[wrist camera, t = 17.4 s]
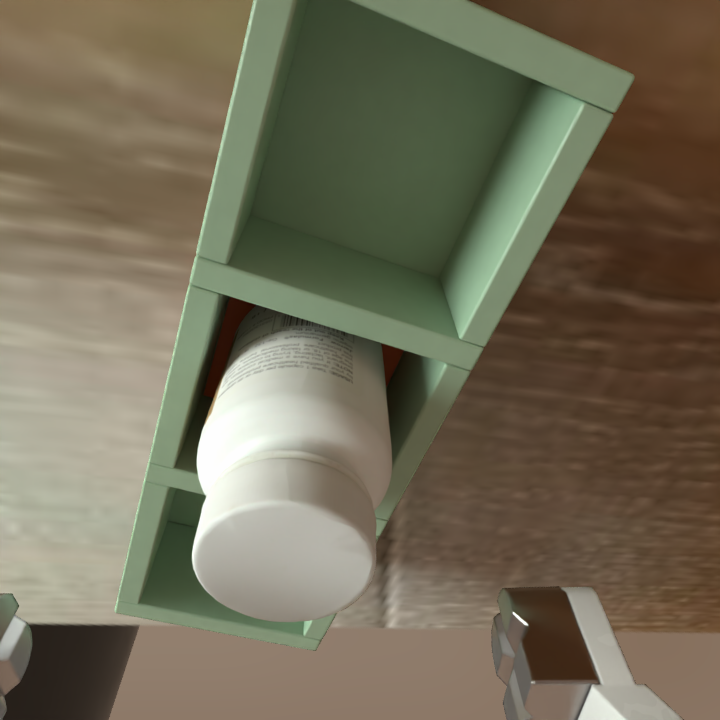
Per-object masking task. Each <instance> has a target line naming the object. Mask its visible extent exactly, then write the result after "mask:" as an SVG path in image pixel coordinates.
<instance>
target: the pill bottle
mask: <svg viewBox="0 0 720 720" xmlns="http://www.w3.org/2000/svg"><path fill="white" fill-rule="evenodd" d="M197 471H198V477H199V481H200V484H201V487H202V489H203V492H204V494H205V495H206V499H205V502H204V504H203V507H202V511H201V516H200V520H199V524H198V528H197V532H196V536H195V539H194V544H193V550H192V564H193V569H194V571H195V574H196V576H197V579H198V580H199V582H200V583H201V585H202V586H203V588H204V589H205V590H206V591H207V592H208V593H209V594H210V595H211V596H212V597H214V598H215V600H217V601H218V602H220V603H221V604H223V605H225V606H226V607H228V608H230V609H232V610H235V611H237V612H239V613H242V614H244V615H247V616H250V617H253V618H256V619H261V620H267V621H272V622H299V621H311V620H316V619H321V618H324V617H327V616H330V615H333V614H335V613H337V612H339V611H342V610H344V609H346V608H347V607H349V606H350V605H351V604H353V603H354V602H355V601H357V600H358V599H359V598H360V597H361V596H362V595H363V594H364V592H365V591H366V590H367V588H368V587H369V585H370V584H371V582H372V579H373V577H374V573H375V568H376V516H375V512H374V511H375V510H376V508H377V507H378V506H379V504H380V503H381V501H382V500H383V498H384V496H385V494H386V492H387V489H388V487H389V483H390V480H391V474H392V449H391V437H390V427H389V416H388V406H387V395H386V382H385V372H384V362H383V353H382V346H381V343H379V342H376V341H373V340H369V339H366V338H363V337H360V336H356V335H353V334H350V333H347V332H343V331H340V330H337V329H334V328H330V327H327V326H324V325H321V324H317V323H314V322H311V321H308V320H304V319H301V318H298V317H295V316H291V315H288V314H285V313H282V312H278V311H275V310H272V309H269V308H265V307H262V306H259V305H256V306H255V307H254V308H253V309H252V310H251V311H249V313H248V314H247V315H246V316H245V318H244V319H243V320H242V322H241V323H240V325H239V327H238V329H237V330H236V333H235V335H234V339H233V342H232V345H231V348H230V350H229V353H228V357H227V360H226V363H225V366H224V369H223V372H222V375H221V377H220V381H219V384H218V387H217V389H216V392H215V396H214V399H213V402H212V404H211V407H210V409H209V412H208V415H207V418H206V420H205V424H204V427H203V430H202V433H201V438H200V441H199V446H198V452H197Z"/></svg>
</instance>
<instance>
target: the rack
mask: <svg viewBox="0 0 720 720" xmlns="http://www.w3.org/2000/svg"><path fill="white" fill-rule="evenodd" d="M634 78H635V76H634V75H633V74H632V73H630V72H628V71H625V70H623V69H621V68H619V67H616V66H614V65H612V64H610V63H608V62H605V61H603V60H601V59H599V58H596V57H594V56H592V55H590V54H587V53H585V52H583V51H581V50H578V49H576V48H574V47H572V46H570V45H567V44H565V43H563V42H561V41H558V40H556V39H554V38H552V37H549V36H547V35H545V34H543V33H541V32H538V31H536V30H534V29H532V28H529V27H527V26H525V25H523V24H520V23H518V22H516V21H514V20H512V19H509V18H507V17H505V16H503V15H500V14H498V13H496V12H494V11H491V10H489V9H487V8H485V7H483V6H480V5H478V4H476V3H474V2H471V1H469V0H253V5H252V9H251V14H250V18H249V22H248V27H247V31H246V35H245V40H244V44H243V49H242V53H241V57H240V62H239V66H238V71H237V75H236V79H235V84H234V88H233V93H232V97H231V101H230V106H229V110H228V114H227V119H226V123H225V128H224V132H223V136H222V141H221V145H220V150H219V154H218V158H217V163H216V167H215V172H214V176H213V180H212V185H211V189H210V193H209V198H208V202H207V207H206V211H205V215H204V220H203V224H202V229H201V233H200V237H199V242H198V246H197V251H196V252H197V255H196V257H195V259H194V264H193V268H192V272H191V277H190V284H189V286H188V290H187V294H186V298H185V303H184V307H183V312H182V316H181V320H180V325H179V329H178V334H177V338H176V342H175V347H174V351H173V356H172V360H171V364H170V369H169V373H168V377H167V382H166V386H165V391H164V395H163V399H162V404H161V408H160V413H159V417H158V421H157V426H156V430H155V435H154V439H153V443H152V448H151V452H150V457H149V462H148V465H147V470H146V474H145V480H144V483H143V487H142V492H141V496H140V500H139V505H138V509H137V514H136V518H135V522H134V527H133V531H132V535H131V540H130V544H129V549H128V553H127V557H126V562H125V566H124V571H123V575H122V579H121V584H120V588H119V593H118V597H117V602H116V606H115V613H119V614H124V615H129V616H134V617H140V618H145V619H150V620H155V621H161V622H166V623H171V624H176V625H181V626H187V627H192V628H197V629H203V630H208V631H213V632H219V633H224V634H229V635H234V636H239V637H244V638H250V639H255V640H260V641H266V642H271V643H276V644H281V645H286V646H292V647H297V648H302V649H307V650H313V651H316V650H317V648H318V646H319V644H320V642H321V640H322V639H323V637H324V636H325V634H326V632H327V630H328V628H329V627H330V625H331V623H332V621H333V619H334V618H335V616H336V614H337V613H335V614H333V615H330V616H327V617H324V618H321V619H316V620H311V621H299V622H272V621H267V620H261V619H256V618H253V617H250V616H247V615H244V614H242V613H239V612H237V611H235V610H232V609H230V608H228V607H226V606H225V605H223V604H221V603H220V602H218V601H217V600H215V598H214V597H212V596H211V595H210V594H209V593H208V592H207V591H206V590H205V589H204V588H203V586H202V585H201V583H200V582H199V580H198V579H197V576H196V574H195V571H194V569H193V564H192V550H193V544H194V539H195V536H196V532H197V528H198V524H199V520H200V516H201V511H202V507H203V504H204V502H205V499H206V495H205V494H204V492H203V489H202V487H201V484H200V481H199V477H198V471H197V452H198V446H199V441H200V438H201V433H202V430H203V427H204V424H205V420H206V418H207V415H208V412H209V409H210V407H211V404H212V402H213V399H214V396H215V392H216V389H217V387H218V384H219V381H220V377H221V375H222V372H223V369H224V366H225V363H226V360H227V357H228V353H229V350H230V348H231V345H232V342H233V339H234V335H235V333H236V330H237V329H238V327H239V325H240V323H241V322H242V320H243V319H244V318H245V316H246V315H247V314H248V313H249V311H251V310H252V309H253V308H254V307H255V306H256V305H259V306H262V307H265V308H269V309H272V310H275V311H278V312H282V313H285V314H288V315H291V316H295V317H298V318H301V319H304V320H308V321H311V322H314V323H317V324H321V325H324V326H327V327H330V328H334V329H337V330H340V331H343V332H347V333H350V334H353V335H356V336H360V337H363V338H366V339H369V340H373V341H376V342H379V343H381V346H382V353H383V362H384V372H385V382H386V395H387V406H388V416H389V427H390V437H391V449H392V474H391V480H390V483H389V487H388V489H387V492H386V494H385V496H384V498H383V500H382V501H381V503H380V504H379V506H378V507H377V508H376V510H375V511H374V512H375V516H376V542H377V540H378V539H379V536H380V535H381V533H382V532H383V530H384V528H385V526H386V525H387V523H388V520H389V519H390V517H391V515H392V513H393V511H394V510H395V508H396V506H397V504H398V502H399V501H400V499H401V497H402V495H403V494H404V492H405V490H406V488H407V486H408V485H409V483H410V481H411V479H412V477H413V476H414V474H415V472H416V470H417V468H418V467H419V465H420V463H421V461H422V459H423V458H424V456H425V454H426V452H427V450H428V449H429V447H430V445H431V443H432V442H433V440H434V438H435V436H436V434H437V433H438V431H439V429H440V427H441V425H442V424H443V422H444V420H445V418H446V416H447V415H448V413H449V411H450V409H451V407H452V406H453V404H454V402H455V400H456V398H457V397H458V395H459V393H460V391H461V389H462V388H463V386H464V384H465V382H466V381H467V379H468V377H469V375H470V370H472V369H473V368H474V366H475V364H476V363H477V361H478V359H479V357H480V355H481V354H482V352H483V347H485V346H486V345H487V343H488V341H489V340H490V338H491V336H492V334H493V332H494V331H495V329H496V327H497V325H498V323H499V322H500V320H501V318H502V316H503V314H504V313H505V311H506V309H507V307H508V305H509V304H510V302H511V300H512V298H513V296H514V295H515V293H516V291H517V289H518V288H519V286H520V284H521V282H522V280H523V279H524V277H525V275H526V273H527V271H528V270H529V268H530V266H531V264H532V262H533V261H534V259H535V257H536V255H537V253H538V252H539V250H540V248H541V246H542V244H543V243H544V241H545V239H546V237H547V236H548V234H549V232H550V230H551V228H552V227H553V225H554V223H555V221H556V219H557V218H558V216H559V214H560V212H561V210H562V209H563V207H564V205H565V203H566V201H567V200H568V198H569V196H570V194H571V192H572V191H573V189H574V187H575V185H576V183H577V182H578V180H579V178H580V176H581V175H582V173H583V171H584V169H585V167H586V166H587V164H588V162H589V160H590V158H591V157H592V155H593V153H594V151H595V149H596V148H597V146H598V144H599V142H600V140H601V139H602V137H603V135H604V133H605V131H606V130H607V128H608V126H609V124H610V123H611V121H612V119H613V114H612V113H615V112H616V111H617V110H618V108H619V106H620V104H621V103H622V101H623V99H624V97H625V95H626V94H627V92H628V90H629V88H630V87H631V85H632V83H633V81H634Z"/></svg>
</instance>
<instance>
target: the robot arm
mask: <svg viewBox="0 0 720 720" xmlns="http://www.w3.org/2000/svg"><path fill="white" fill-rule="evenodd" d="M497 602H498V606H499V610H500V613H499V614H497V615H496V616H495V617H494V618H493V624H492V630H491V634H492V653H493V659H494V665H495V669H496V674H497V676H498V677H499V678H500V679H501V680H502V681H503V682H504V683H505V685H506V686H507V689H506V693H505V697H504V701H503V705H504V710H505V714H506V718H507V720H684V719H683V718H682V717H681V716H679V715H678V714H677V713H676V712H675V711H674V710H673V709H672V708H671V707H670V706H669V705H667V704H666V703H665V702H664V701H663V700H662V699H661V698H660V697H659V696H658V695H657V694H656V693H654V692H653V691H652V690H651V689H650V688H649V687H648V686H647V685H646V684H636V682H635V680H634V678H633V675H632V673H631V671H630V668H629V666H628V664H627V661H626V659H625V657H624V654H623V652H622V650H621V647H620V645H619V643H618V641H617V638H616V636H615V634H614V631H613V629H612V627H611V624H610V622H609V620H608V617H607V615H606V613H605V610H604V608H603V606H602V603H601V601H600V599H599V596H598V594H597V593H596V591H595V590H594V589H593V588H592V587H561V588H560V587H559V586H555V587H517V588H502V589H501V591H500V592H499V596H498V600H497ZM18 607H19V605H18V603H17V601H16V599H15V598H14V596H13V594H11V593H0V720H2V719H3V717H4V715H5V713H6V711H7V709H6V704H5V699H4V695H5V694H6V693H8V692H9V691H10V690H11V689H12V688H13V687H15V686H16V685H17V684H18V683H19V682H20V681H21V679H22V677H23V674H24V672H25V670H26V668H27V666H28V663H29V659H30V654H31V649H32V634H31V630H30V628H29V625H28V623H27V622H26V621H24V620H22V619H21V618H19V617H18V616H16V615H15V613H16V611H17V609H18Z"/></svg>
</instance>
